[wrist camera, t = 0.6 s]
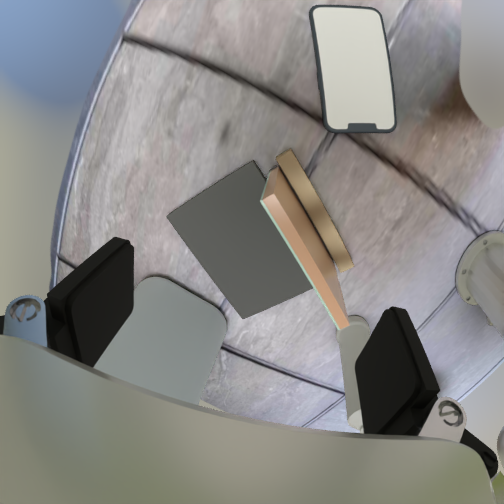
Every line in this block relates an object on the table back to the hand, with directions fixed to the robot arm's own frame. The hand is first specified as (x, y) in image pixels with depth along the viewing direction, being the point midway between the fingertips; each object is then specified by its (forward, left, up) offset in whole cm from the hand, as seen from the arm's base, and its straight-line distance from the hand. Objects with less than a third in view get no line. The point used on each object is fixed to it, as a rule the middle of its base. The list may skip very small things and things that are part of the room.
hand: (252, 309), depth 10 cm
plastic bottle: (-12, +26, -27) cm, 39 cm away
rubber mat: (-6, +8, -26) cm, 28 cm away
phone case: (+7, -14, -27) cm, 31 cm away
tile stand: (-6, -2, -26) cm, 27 cm away
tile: (-6, +1, -25) cm, 26 cm away
